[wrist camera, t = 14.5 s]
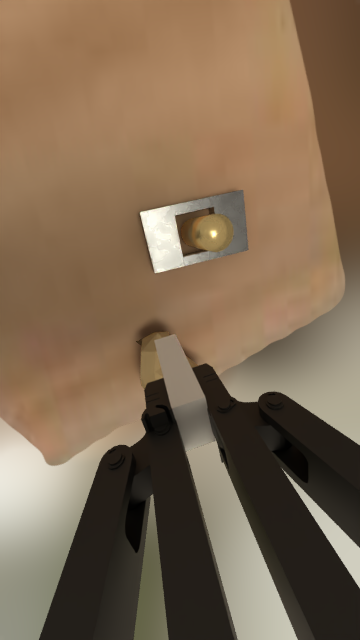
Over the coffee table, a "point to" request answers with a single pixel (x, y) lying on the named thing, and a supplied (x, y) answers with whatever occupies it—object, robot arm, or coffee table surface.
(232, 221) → the metal plate with hole
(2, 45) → the coffee table surface
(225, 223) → the gold peg
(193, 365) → the faceted tan rock
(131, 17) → the coffee table surface
